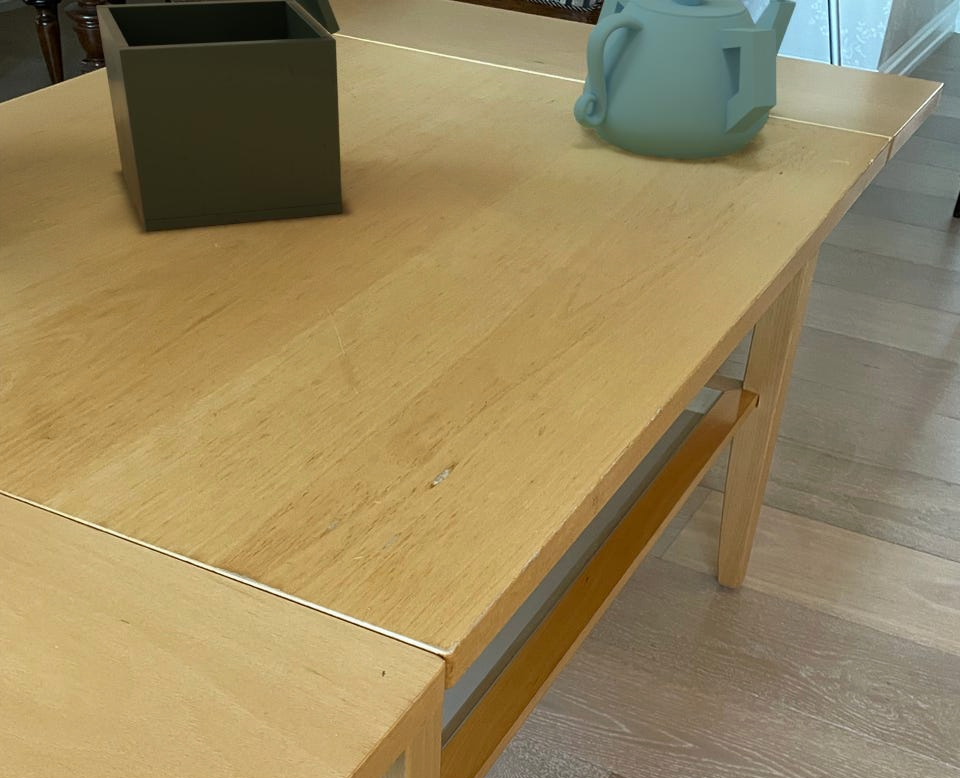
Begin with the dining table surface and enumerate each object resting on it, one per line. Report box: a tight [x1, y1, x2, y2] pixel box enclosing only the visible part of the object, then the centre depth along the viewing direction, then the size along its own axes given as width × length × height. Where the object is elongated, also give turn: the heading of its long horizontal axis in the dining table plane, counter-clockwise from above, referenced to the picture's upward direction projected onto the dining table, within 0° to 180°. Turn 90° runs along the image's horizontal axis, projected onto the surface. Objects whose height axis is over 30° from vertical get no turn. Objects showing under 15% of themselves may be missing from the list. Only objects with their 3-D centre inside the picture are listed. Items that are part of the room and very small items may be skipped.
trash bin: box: [96, 0, 343, 232], centre depth 92 cm, size 16×14×13 cm
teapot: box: [573, 0, 797, 160], centre depth 108 cm, size 19×19×14 cm
